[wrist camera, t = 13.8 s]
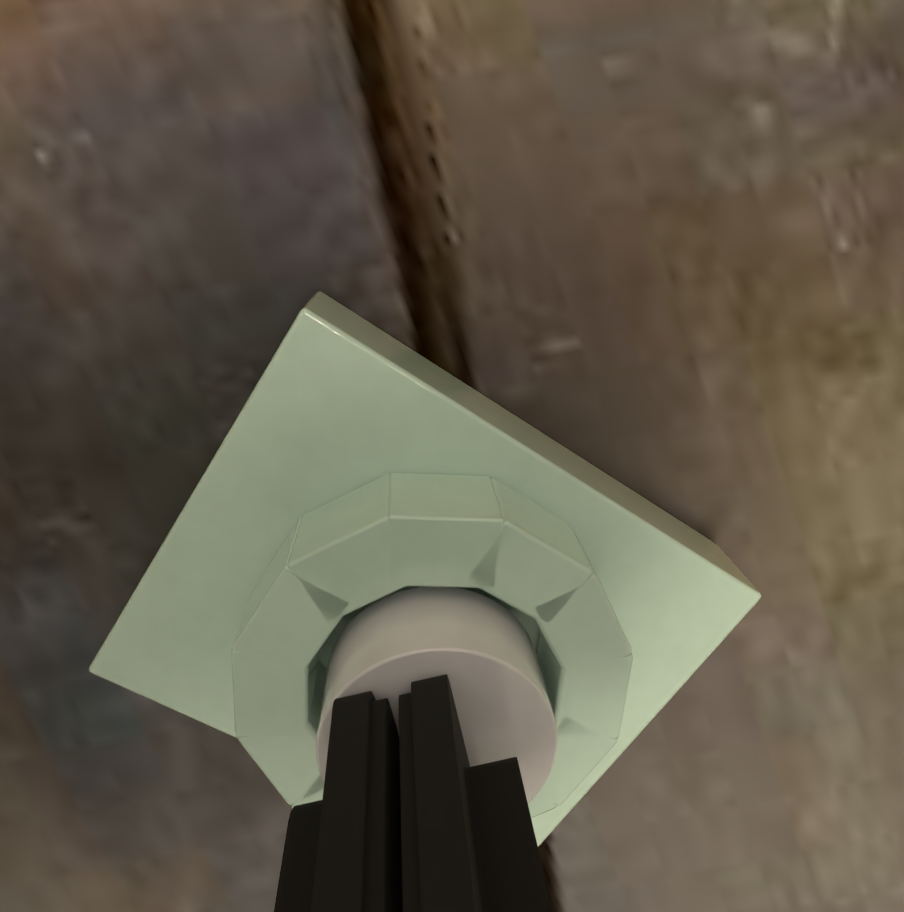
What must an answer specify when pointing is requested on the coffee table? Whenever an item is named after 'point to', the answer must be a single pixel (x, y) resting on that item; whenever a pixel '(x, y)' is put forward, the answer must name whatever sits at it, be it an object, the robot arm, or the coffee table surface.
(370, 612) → the flush button
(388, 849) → the robot arm
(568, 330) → the coffee table surface
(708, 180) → the coffee table surface
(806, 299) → the coffee table surface
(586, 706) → the button base plate
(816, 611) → the coffee table surface
